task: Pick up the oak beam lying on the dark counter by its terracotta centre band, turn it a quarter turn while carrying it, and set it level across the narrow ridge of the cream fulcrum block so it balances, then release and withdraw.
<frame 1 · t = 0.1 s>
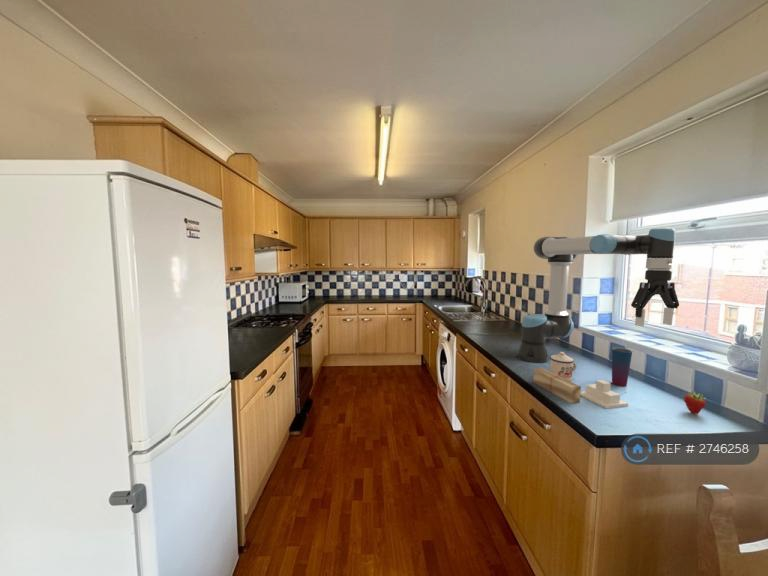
hand: (653, 325, 119), 28 cm above the worktop, fingers open, 13 cm apart
cup: (619, 384, 132), on the worktop
fruit: (693, 414, 107), on the worktop
fulcrum: (601, 399, 117), on the worktop
beam: (554, 391, 124), on the worktop
teacup with lid: (563, 378, 139), on the worktop
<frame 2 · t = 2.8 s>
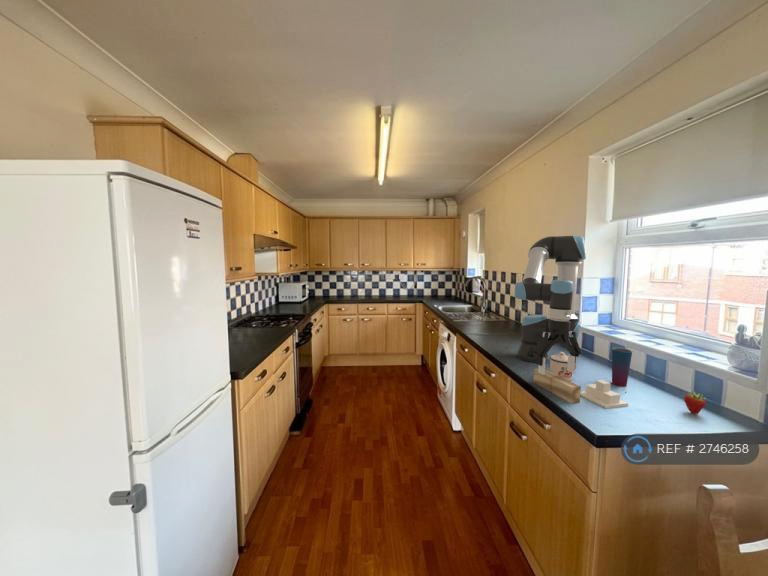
hand: (556, 372, 123), 8 cm above the worktop, fingers open, 13 cm apart
nothing on the worktop moved.
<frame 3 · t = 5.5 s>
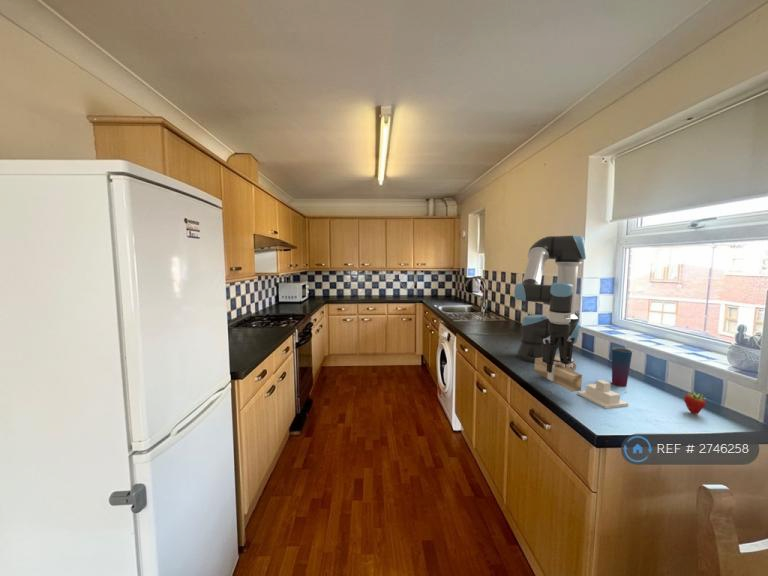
hand: (555, 379, 124), 5 cm above the worktop, fingers closed on beam, 4 cm apart
beam: (555, 380, 124), point 4 cm above the worktop, touching gripper
everything else where it was.
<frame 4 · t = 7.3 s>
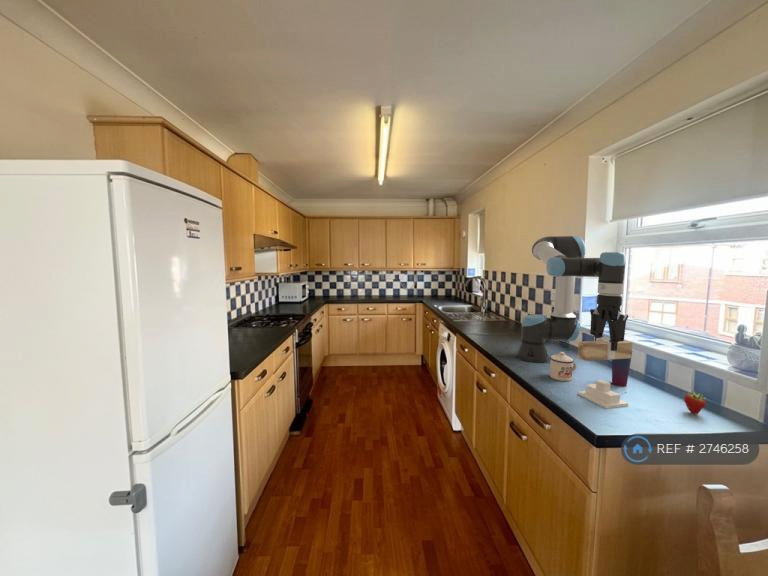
hand: (604, 356, 116), 17 cm above the worktop, fingers closed on beam, 4 cm apart
beam: (604, 357, 116), point 16 cm above the worktop, touching gripper
everything else where it was.
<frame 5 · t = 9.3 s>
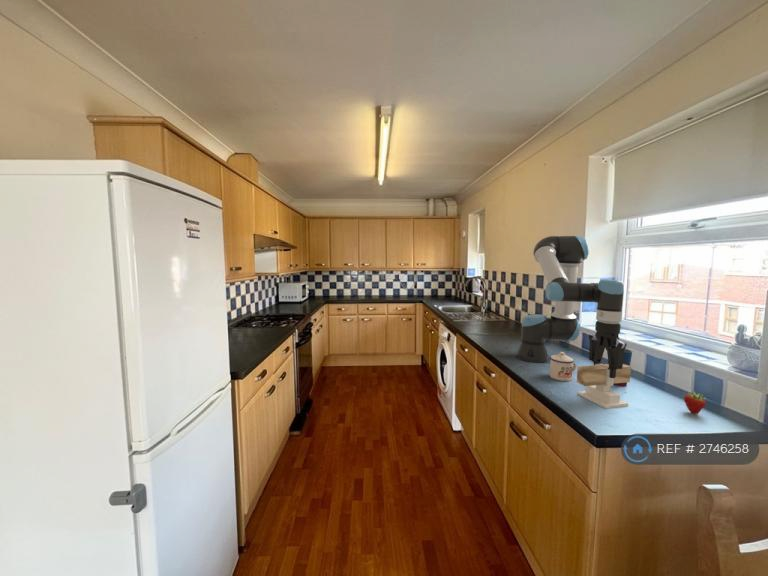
hand: (603, 383, 116), 7 cm above the worktop, fingers closed on beam, 4 cm apart
beam: (603, 382, 116), point 7 cm above the worktop, touching fulcrum, gripper
everything else where it was.
when the fingers open (6 cm above the worktop, at t = 10.1 s): beam stays where it is, resting on fulcrum.
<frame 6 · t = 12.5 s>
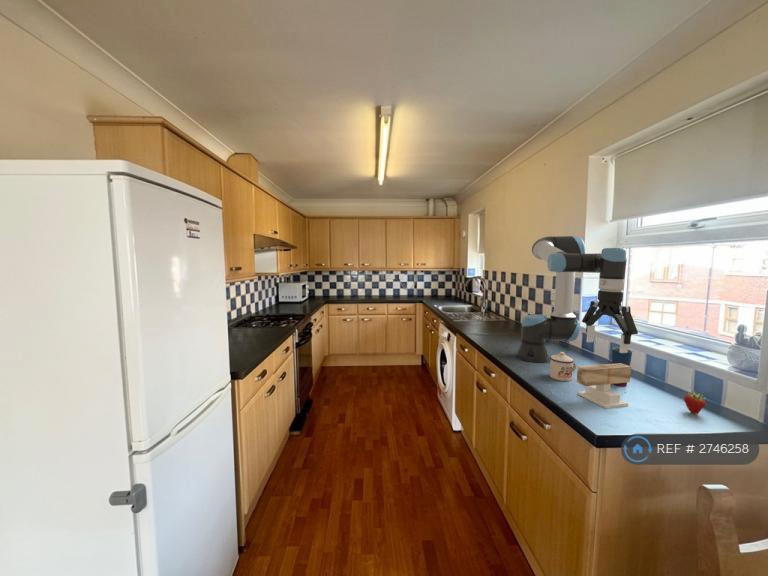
hand: (605, 347, 115), 20 cm above the worktop, fingers open, 13 cm apart
beam: (603, 382, 116), point 7 cm above the worktop, touching fulcrum
everything else where it was.
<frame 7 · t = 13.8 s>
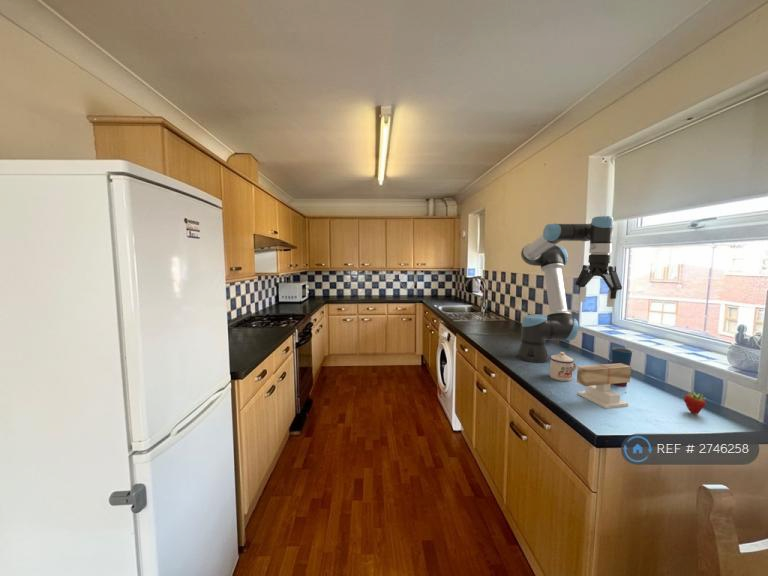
hand: (595, 304, 132), 34 cm above the worktop, fingers open, 13 cm apart
nothing on the worktop moved.
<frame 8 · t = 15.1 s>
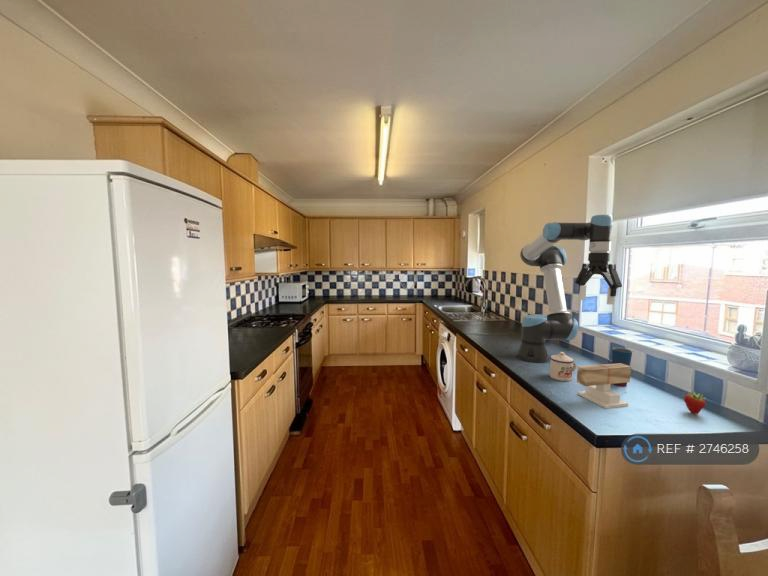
hand: (595, 302, 133), 35 cm above the worktop, fingers open, 13 cm apart
nothing on the worktop moved.
at the end: beam 0.2 cm off-centre on the fulcrum, point 7.0 cm above the fulcrum's base; beam tilted 0°; beam touching fulcrum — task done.
